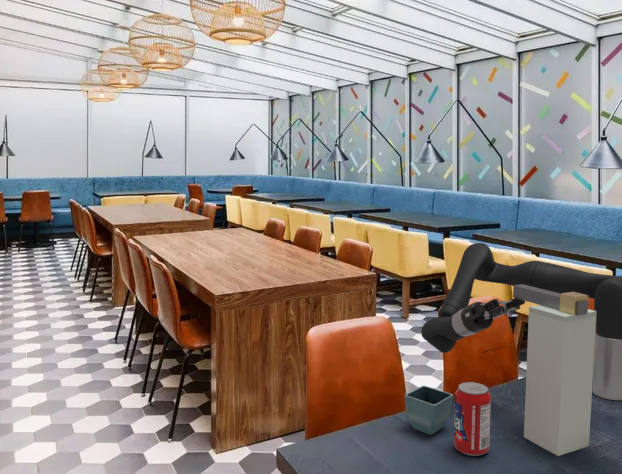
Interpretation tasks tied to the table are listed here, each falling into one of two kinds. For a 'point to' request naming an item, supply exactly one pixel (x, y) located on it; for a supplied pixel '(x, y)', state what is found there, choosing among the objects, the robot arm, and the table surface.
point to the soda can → (472, 419)
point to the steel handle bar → (553, 299)
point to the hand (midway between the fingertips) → (510, 300)
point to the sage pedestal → (559, 379)
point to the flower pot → (428, 409)
